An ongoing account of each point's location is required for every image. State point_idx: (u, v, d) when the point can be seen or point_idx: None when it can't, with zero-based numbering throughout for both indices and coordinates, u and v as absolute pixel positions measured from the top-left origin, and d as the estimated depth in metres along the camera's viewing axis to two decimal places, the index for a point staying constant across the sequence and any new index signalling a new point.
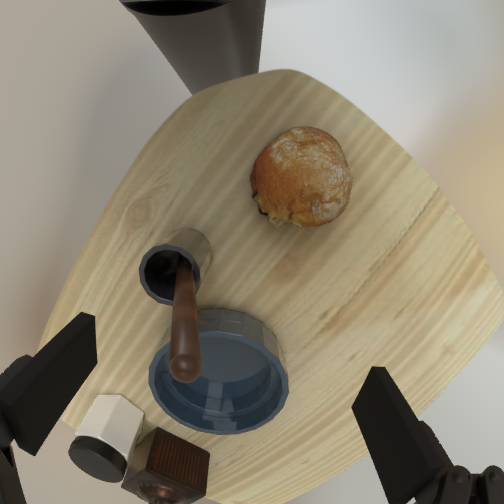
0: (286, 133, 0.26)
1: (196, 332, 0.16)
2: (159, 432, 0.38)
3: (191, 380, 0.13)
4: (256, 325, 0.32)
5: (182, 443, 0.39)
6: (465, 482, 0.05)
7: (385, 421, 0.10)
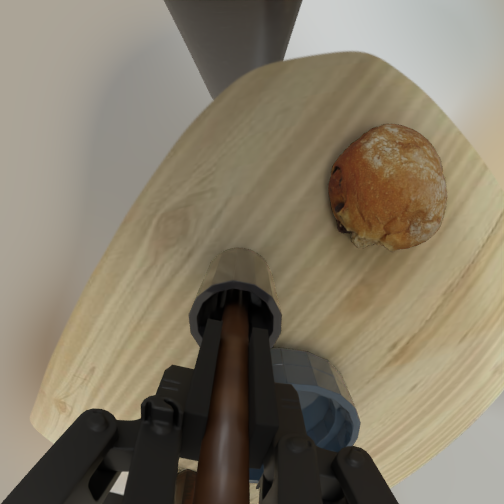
0: (379, 130, 0.18)
1: (245, 446, 0.08)
2: (190, 474, 0.31)
3: None
4: (324, 367, 0.24)
5: None
6: (306, 450, 0.07)
7: (249, 377, 0.12)
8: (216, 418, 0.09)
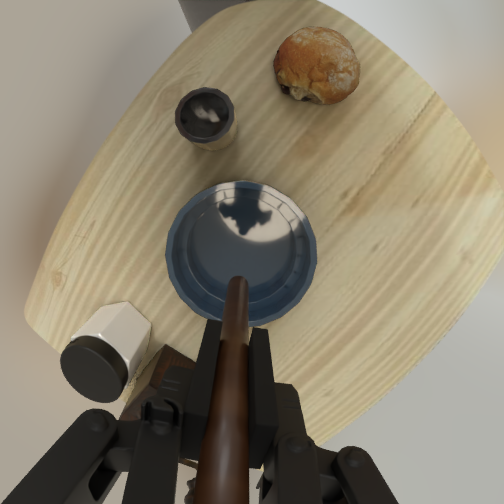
0: (303, 28, 0.26)
1: (245, 447, 0.08)
2: (167, 349, 0.38)
3: None
4: None
5: (192, 364, 0.39)
6: (307, 450, 0.07)
7: (249, 377, 0.12)
8: (216, 419, 0.09)
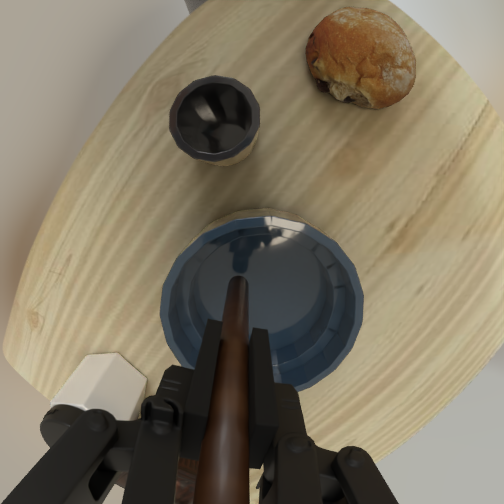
0: (345, 7, 0.18)
1: (245, 447, 0.08)
2: None
3: None
4: (315, 227, 0.23)
5: None
6: (307, 450, 0.07)
7: (249, 377, 0.12)
8: (216, 419, 0.09)
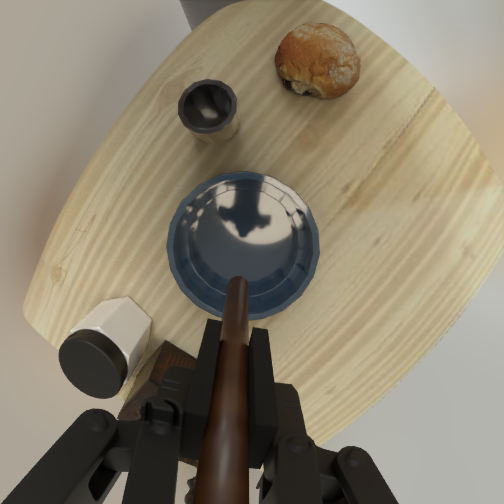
0: (304, 24, 0.26)
1: (245, 447, 0.08)
2: (167, 345, 0.38)
3: None
4: None
5: (193, 361, 0.39)
6: (306, 450, 0.07)
7: (249, 377, 0.12)
8: (216, 419, 0.09)
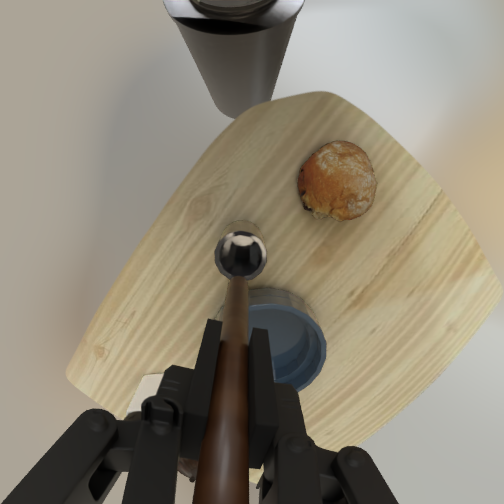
0: (328, 146, 0.32)
1: (245, 448, 0.08)
2: None
3: None
4: (299, 301, 0.38)
5: None
6: (306, 450, 0.07)
7: (249, 377, 0.12)
8: (216, 420, 0.09)
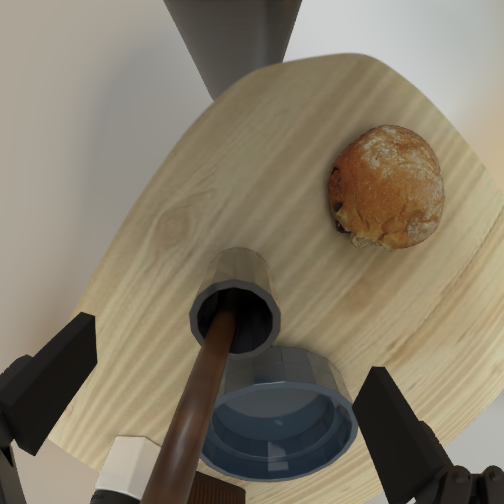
0: (377, 131, 0.19)
1: (190, 466, 0.09)
2: None
3: None
4: (323, 365, 0.25)
5: (216, 483, 0.32)
6: (465, 482, 0.05)
7: (385, 421, 0.10)
8: (171, 438, 0.10)
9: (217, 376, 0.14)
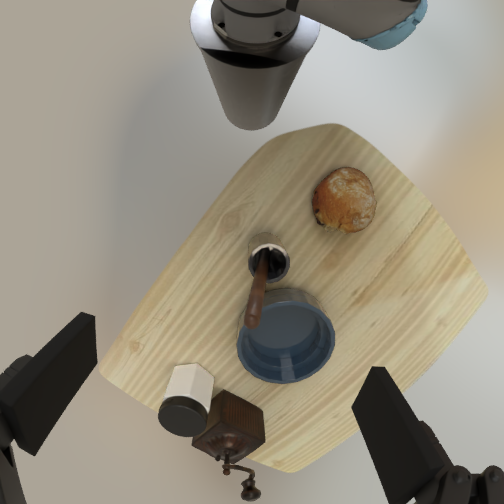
0: (337, 172, 0.40)
1: (261, 304, 0.31)
2: (225, 393, 0.53)
3: (253, 327, 0.28)
4: (312, 298, 0.46)
5: (243, 402, 0.54)
6: (465, 482, 0.05)
7: (385, 421, 0.10)
8: (252, 296, 0.31)
9: (264, 281, 0.35)
